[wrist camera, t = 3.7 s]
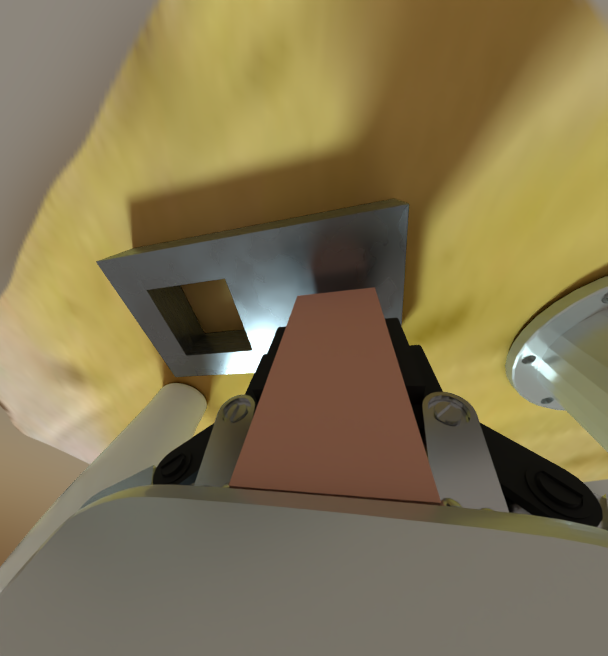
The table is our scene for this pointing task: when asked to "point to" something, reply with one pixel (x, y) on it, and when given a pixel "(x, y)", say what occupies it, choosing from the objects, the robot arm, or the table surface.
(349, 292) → the square peg
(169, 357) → the square hole plate
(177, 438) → the drinking glass
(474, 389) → the table surface
